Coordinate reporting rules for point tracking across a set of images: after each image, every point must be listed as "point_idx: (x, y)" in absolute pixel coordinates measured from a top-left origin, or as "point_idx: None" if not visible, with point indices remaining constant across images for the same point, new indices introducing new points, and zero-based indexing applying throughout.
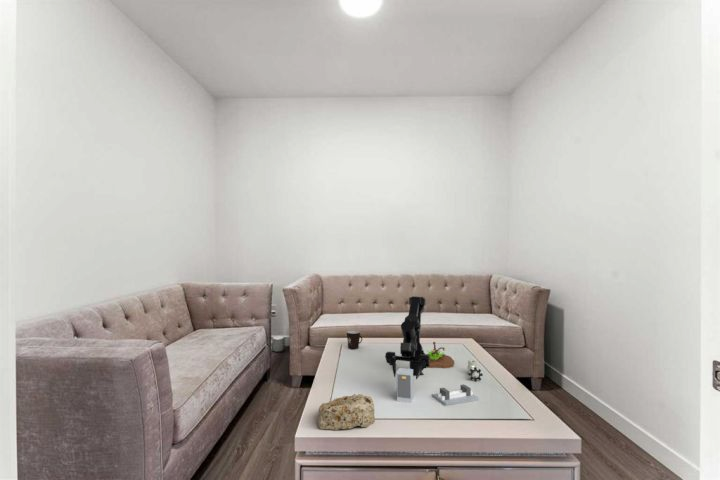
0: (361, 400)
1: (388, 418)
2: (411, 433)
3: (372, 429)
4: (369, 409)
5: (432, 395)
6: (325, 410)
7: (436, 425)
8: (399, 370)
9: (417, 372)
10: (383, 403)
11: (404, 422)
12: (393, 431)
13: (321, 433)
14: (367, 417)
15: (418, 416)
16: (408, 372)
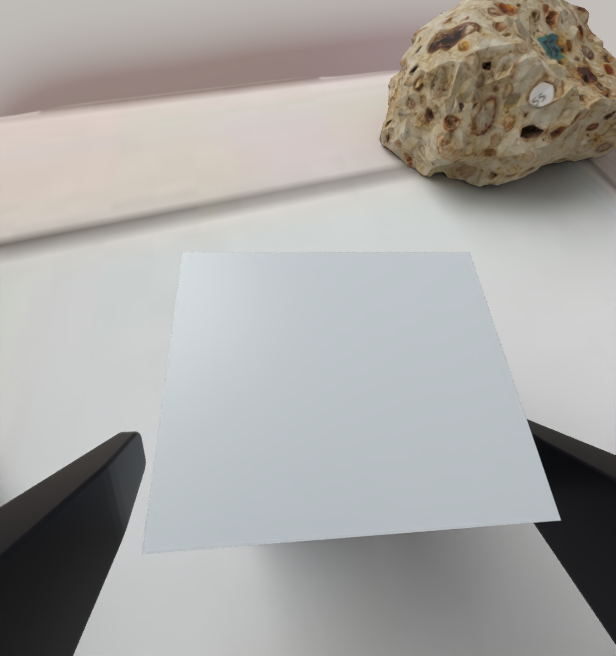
0: (473, 10)
1: (334, 186)
2: (210, 111)
3: (364, 110)
4: (410, 50)
5: None
6: (564, 2)
7: (92, 176)
8: (455, 326)
9: (50, 497)
10: None
11: (251, 171)
12: (283, 111)
13: None
14: (401, 71)
15: (185, 233)
16: (245, 263)
